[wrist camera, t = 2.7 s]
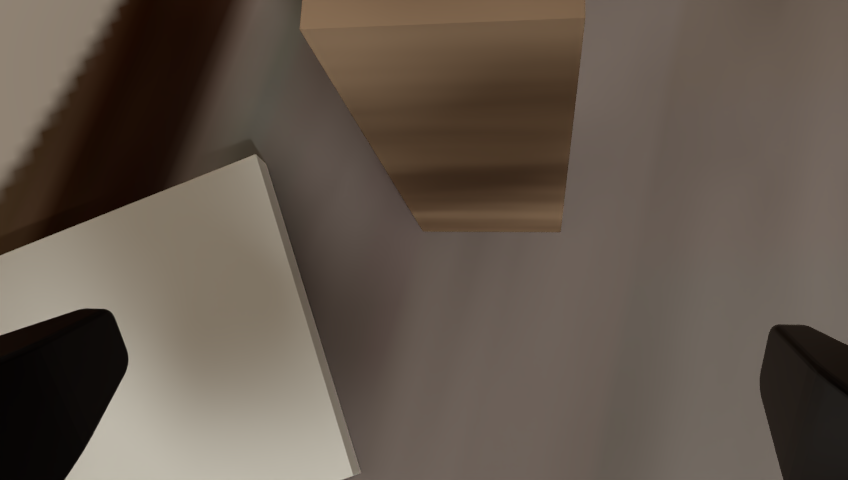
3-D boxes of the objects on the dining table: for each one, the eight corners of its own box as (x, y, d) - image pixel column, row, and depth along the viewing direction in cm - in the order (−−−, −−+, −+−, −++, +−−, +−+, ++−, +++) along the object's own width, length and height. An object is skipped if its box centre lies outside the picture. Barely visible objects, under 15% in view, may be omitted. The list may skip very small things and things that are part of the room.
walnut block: (560, 232, 23) (585, 17, 11) (423, 231, 24) (299, 28, 12) (560, 103, 24) (583, -226, 12) (428, 106, 25) (321, -202, 13)
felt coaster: (361, 472, 23) (353, 475, 22) (42, 589, 23) (20, 596, 22) (266, 163, 26) (255, 153, 25) (-13, 274, 26) (-34, 268, 25)
